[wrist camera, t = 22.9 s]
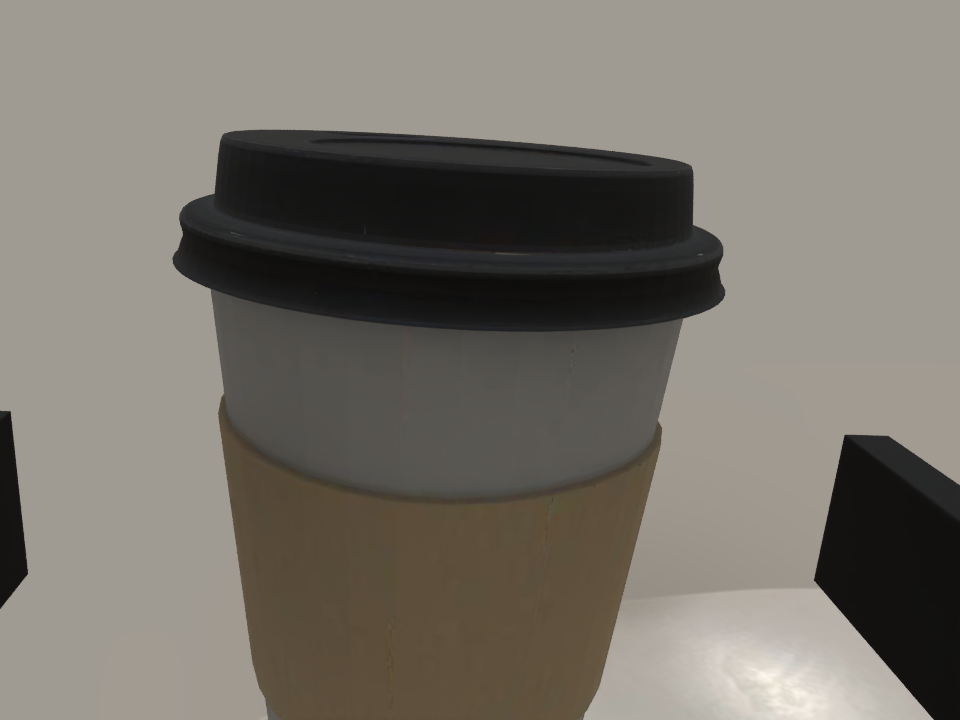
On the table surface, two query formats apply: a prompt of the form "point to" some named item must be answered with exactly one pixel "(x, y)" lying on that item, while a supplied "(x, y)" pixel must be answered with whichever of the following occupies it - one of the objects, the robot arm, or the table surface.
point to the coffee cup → (440, 408)
